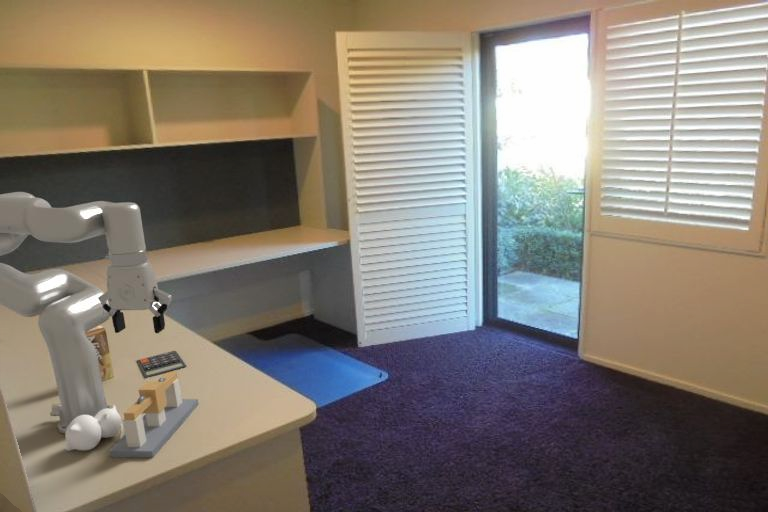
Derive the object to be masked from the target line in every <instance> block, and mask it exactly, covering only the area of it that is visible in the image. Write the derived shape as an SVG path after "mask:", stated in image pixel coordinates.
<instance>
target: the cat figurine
mask: <svg viewBox="0 0 768 512" xmlns="http://www.w3.org/2000/svg"><path fill="white" fill-rule="evenodd" d="M111 406H112V408H111V409H109V408H107V409H102V410H101V411H99V412H98V413H97V414H96V416H95V417H92V416H90V415H80V416H78V417H76V418H75V419H73V420H72V422H71V423H70V424H69V426H68V427H67V430H66V434H64V435H65V436H64V437H65V442H66V444H65V445H66V446H65V451H73V450H76V451H89V450H92V449H94V448H95V447H97V446H98V444H99V443H100V441H101V440H102V438H106V439H107V438H112V437H114V436H116V435H117V434H118V433H119V430H120V434H119V436H120V438H119V440H120V439H121V438H122V437H123V436H124V435H125V429H124V424H123V422H122V418H121V415H120V414H119V412H118V411H117V407H116V405H115V404H113V405H111Z"/></svg>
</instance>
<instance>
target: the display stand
mask: <svg viewBox="0 0 768 512" xmlns="http://www.w3.org/2000/svg"><path fill="white" fill-rule="evenodd" d="M165 394H166V400H167V406H166V407H165V408H164V409H163V410H162V411H161V412H160V413H145V414H144V416H143V414H141V415H140V416H138V417H137V418H136V419H135V420H125V419H123V420H122V425H123V428H124V432H125V435H124V436H123V437H122V438H121V439H120V438H119V440H118V441H117V442H116V443H115V445H113V446H112V447H111V448H110V449H109V450H108V452H109V457H111V458H154V457H155V456H156V455H157V454H158V453H159V452H160V451H161V449H163V447H164V446H165V445H166V443H167V442H168V441H169V440H170V439H171V437H172V436H173V435H174V434H175V433H176V431H177V430H178V429H180V427H181V426H182V425H183V423H184V422H185V421H186V420H187V419H188V417H190V416H191V414H192V413H193V411H195V410H196V408H197V407H198V406H199V404H200V403H199V399H198V398H182V397H183V396H182V392H181V385H180V380H179V378H177V379H176V380H175V381H174V382H173V383H172V384H171V385H170V386H169V387H168V388H167V389H166V391H165Z"/></svg>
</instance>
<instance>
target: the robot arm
mask: <svg viewBox="0 0 768 512" xmlns="http://www.w3.org/2000/svg"><path fill="white" fill-rule="evenodd" d="M141 214H142V213H141V208H140V206H139V205H138V204H137V203H136V202H132V201H131V202H129V201H127V202H111V201H107V200H105V201H104V200H99V201H98V200H97V201H92V202H87V203H81V204H76V205H73V206H67V207H52V205H51V204H50V203H49V202H48V201H47V200H45V199H43V198H40V197H36V196H34V195H33V194H31V193H28V192H25V191H15V192H8V193H3V194H2V193H1V194H0V257H2V256H3V255H8V254H10V253H12V252H13V251H15V250H16V249H18V248H19V247H20V245H21V244H22V243H23V242H24V241H25V239H26V238H27V237H28V236H29V235H30V236H32V237H33V238H35V239H37V240H38V241H41V242H48V243H61V244H62V243H63V244H64V243H65V244H69V243H71V244H72V243H73V244H74V243H79V242H83V241H85V240H89V239H92V238H95V237H100V236H103V235H105V238H106V239H105V240H106V245H107V251H108V253H106V254H105V255H104V259H105V260H107V261H109V265H108V266H107V268H106V269H107V270H106V292H105V291H104V290H102V289H100V288H99V287H97V286H96V285H94V284H93V283H90V282H89V281H87V280H85V279H83V278H81V277H80V276H78V275H76V274H74V273H72V272H70V271H68V270H65V269H61V268H52V269H46V270H43V271H41V272H38V273H33V274H27V273H25V272H22V271H21V270H18V269H16V268H15V267H13V266H11V265H9V264H6V263H3V262H0V305H1V306H4V307H5V308H7V309H9V310H11V311H12V312H13V313H16V314H17V315H20V316H22V317H25V318H33V317H37V316H38V318H37V319H38V320H37V324H38V325H37V326H38V328H39V331H40V333H41V336H42V338H43V340H44V342H45V344H46V346H47V348H48V353H49V356H50V360H51V364H52V370H53V373H54V378H55V382H56V387H57V394H58V396H59V401H60V403H54V404H53V405H52V407H51V411H50V413H49V415H50V417H59V421H58V423H57V429H58V431H59V432H60V433H61V434H64V435H65V434H66V430H67V427H68V426H69V424H70V423H71V422H72V420H73V419H75V418H76V417H78V416H80V415H90V416H92V417H95V416H96V414H97V413H98V412H99V411H101V410H102V409H107V408H109V409H111V408H112V406H113V405H109V404H107V399H106V395H105V393H106V392H105V389H104V383H103V381H102V378H101V373H100V367H99V362H98V357H97V353H96V349H95V347H94V345H93V344H92V343H91V342H90V341H89V340H88V338H87V337H86V335H85V333H86V332H87V331H89V330H91V329H93V328H95V327H97V326H101V325H102V324H104V323H106V322H107V321H108V320H110V318H111V320H112V326H113V328H114V333H116V334H118V333H120V332H122V331H123V330H125V329H126V328H127V327H126V321H125V314H124V312H123V311H145V310H146V311H147V310H149V311H150V313H152V314H153V315H154V316H152V324H153V330H154V333H155V334H160V333H161V332H162V331H163V330H165V326H166V323H165V322H166V321H165V315H164V314H165V312H166V311H167V310H168V308H169V307H170V304H171V301H172V299H173V296H172V295H171V294H169V293H168V292H166V291H163V290H161V289H159V286H158V282H157V277H156V274H155V272H154V271H155V270H154V268H153V266H152V263H151V262H149V261H148V255H147V254H148V253H147V246H146V242H145V234H144V229H143V222H142V215H141ZM160 300H162V303H160Z"/></svg>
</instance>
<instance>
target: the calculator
mask: <svg viewBox="0 0 768 512" xmlns="http://www.w3.org/2000/svg"><path fill="white" fill-rule="evenodd" d="M137 362H138V363H137ZM136 363H137V365H138V364H139V365H138V366H139V369H140V370H141V373H142V375H143V377H144V378H145V379H148V377H149V378H152V377H156V376H160V375H163V374H167V373H168V372H175V371H178V370H182V369H185V367H186V368H187V364H186V363H185V361H183V359H182V358H181V356H180V355H179V353H178V352H177V351H176V350H171V351H168V352H164V353H159V354H156V355H153V356H148V357H145V358H140V359H137V360H136ZM181 368H182V369H181ZM174 370H175V371H174Z"/></svg>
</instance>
